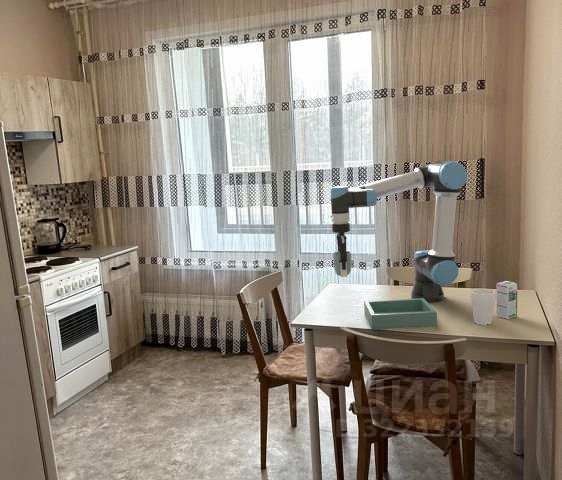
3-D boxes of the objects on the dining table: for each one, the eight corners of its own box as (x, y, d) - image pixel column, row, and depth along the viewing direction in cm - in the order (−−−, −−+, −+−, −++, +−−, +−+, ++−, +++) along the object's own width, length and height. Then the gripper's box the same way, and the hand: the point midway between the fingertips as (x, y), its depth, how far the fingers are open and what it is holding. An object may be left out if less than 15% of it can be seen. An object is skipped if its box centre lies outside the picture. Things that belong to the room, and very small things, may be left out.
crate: (423, 311, 222) (423, 298, 221) (436, 326, 202) (436, 312, 201) (364, 314, 222) (364, 301, 221) (371, 329, 203) (371, 315, 202)
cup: (351, 277, 215) (350, 254, 213) (333, 277, 217) (332, 254, 215) (352, 272, 223) (351, 250, 221) (335, 273, 224) (333, 251, 223)
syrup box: (507, 319, 205) (508, 285, 203) (495, 316, 210) (496, 282, 208) (517, 317, 208) (518, 282, 205) (505, 313, 213) (505, 280, 211)
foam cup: (494, 319, 206) (495, 288, 204) (496, 327, 198) (496, 295, 195) (469, 318, 209) (470, 288, 207) (470, 325, 201) (470, 294, 199)
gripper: (330, 220, 226) (332, 269, 230) (334, 226, 206) (336, 280, 209) (346, 219, 226) (348, 268, 230) (352, 225, 206) (354, 279, 209)
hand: (343, 274), depth 220 cm, fingers closed on cup, 8 cm apart
